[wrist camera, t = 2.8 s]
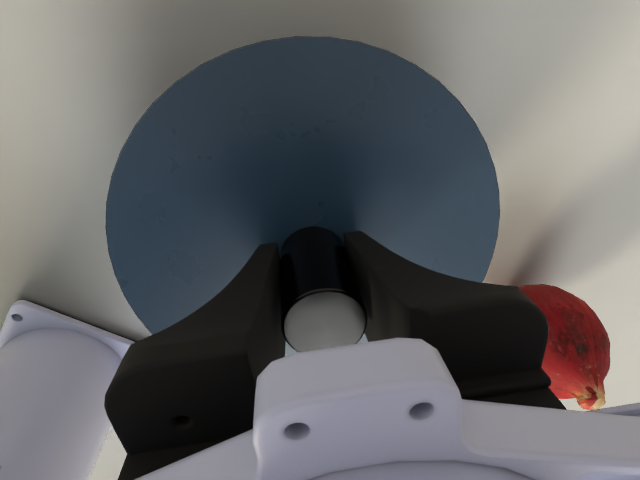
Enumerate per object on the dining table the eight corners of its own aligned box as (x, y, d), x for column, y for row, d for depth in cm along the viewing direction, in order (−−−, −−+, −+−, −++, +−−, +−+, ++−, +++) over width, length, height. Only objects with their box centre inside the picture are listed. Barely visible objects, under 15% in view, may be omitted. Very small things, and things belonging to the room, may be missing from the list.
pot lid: (349, 410, 19) (371, 519, 15) (60, 296, 15) (-36, 405, 10) (558, 187, 15) (681, 247, 10) (236, -79, 10) (204, -182, 6)
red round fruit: (471, 262, 23) (559, 359, 16) (560, 257, 23) (686, 348, 16) (455, 338, 25) (526, 450, 18) (536, 331, 26) (636, 438, 19)
